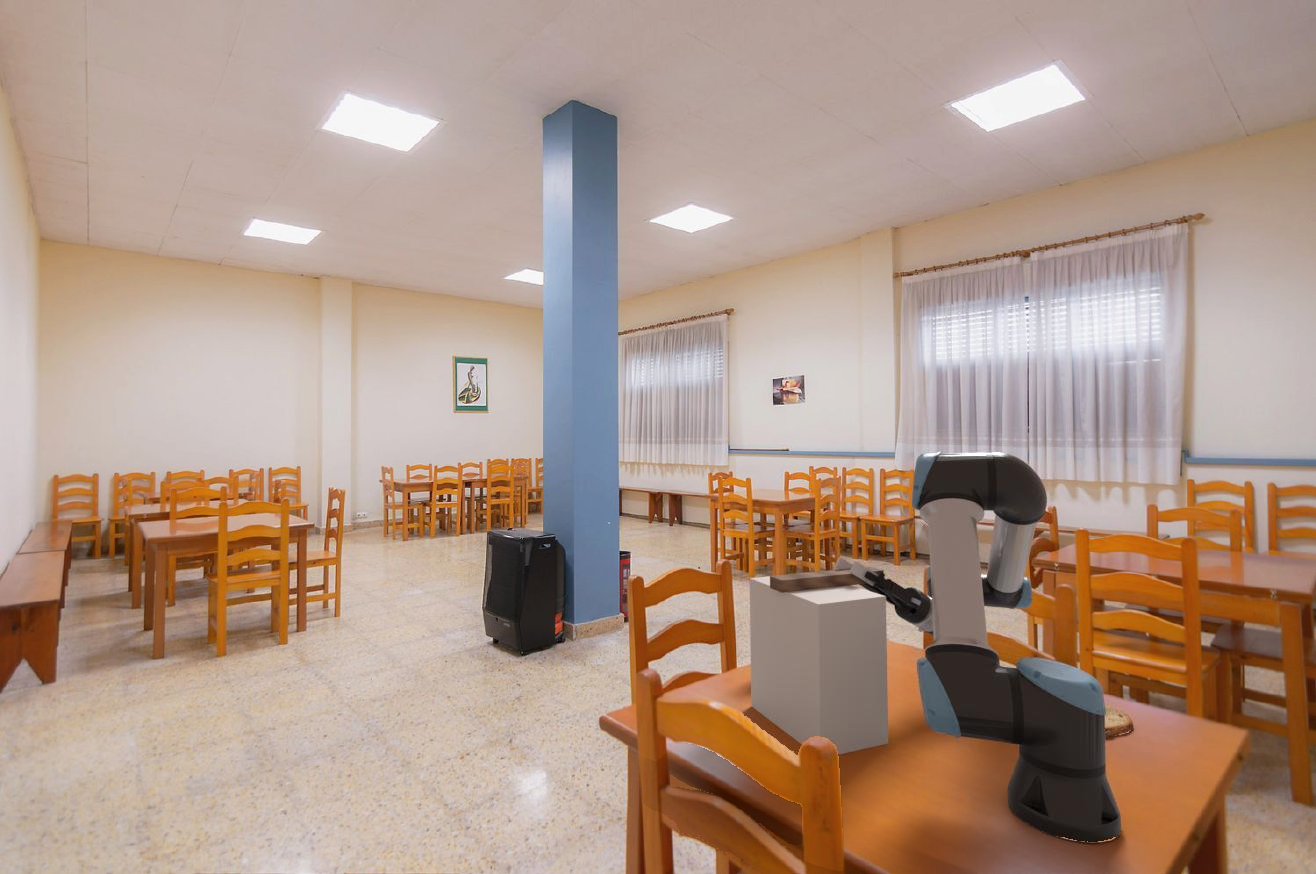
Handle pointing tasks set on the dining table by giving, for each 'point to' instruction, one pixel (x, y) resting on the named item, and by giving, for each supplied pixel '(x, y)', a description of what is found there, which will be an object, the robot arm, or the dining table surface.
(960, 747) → the dining table surface
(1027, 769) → the robot arm
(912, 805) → the dining table surface
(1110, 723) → the slice of bread
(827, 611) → the tall box
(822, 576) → the cover slat
